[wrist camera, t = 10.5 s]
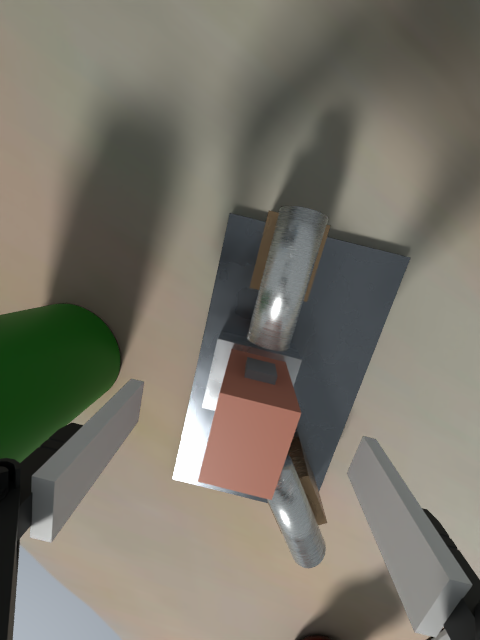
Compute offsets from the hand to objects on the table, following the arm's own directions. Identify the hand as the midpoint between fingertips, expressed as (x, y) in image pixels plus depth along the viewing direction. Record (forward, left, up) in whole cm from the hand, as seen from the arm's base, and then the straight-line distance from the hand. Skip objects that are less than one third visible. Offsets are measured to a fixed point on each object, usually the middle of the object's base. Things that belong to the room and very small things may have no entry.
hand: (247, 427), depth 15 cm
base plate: (+1, +3, -9) cm, 10 cm away
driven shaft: (+8, +5, -9) cm, 13 cm away
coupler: (+1, 0, -6) cm, 6 cm away
